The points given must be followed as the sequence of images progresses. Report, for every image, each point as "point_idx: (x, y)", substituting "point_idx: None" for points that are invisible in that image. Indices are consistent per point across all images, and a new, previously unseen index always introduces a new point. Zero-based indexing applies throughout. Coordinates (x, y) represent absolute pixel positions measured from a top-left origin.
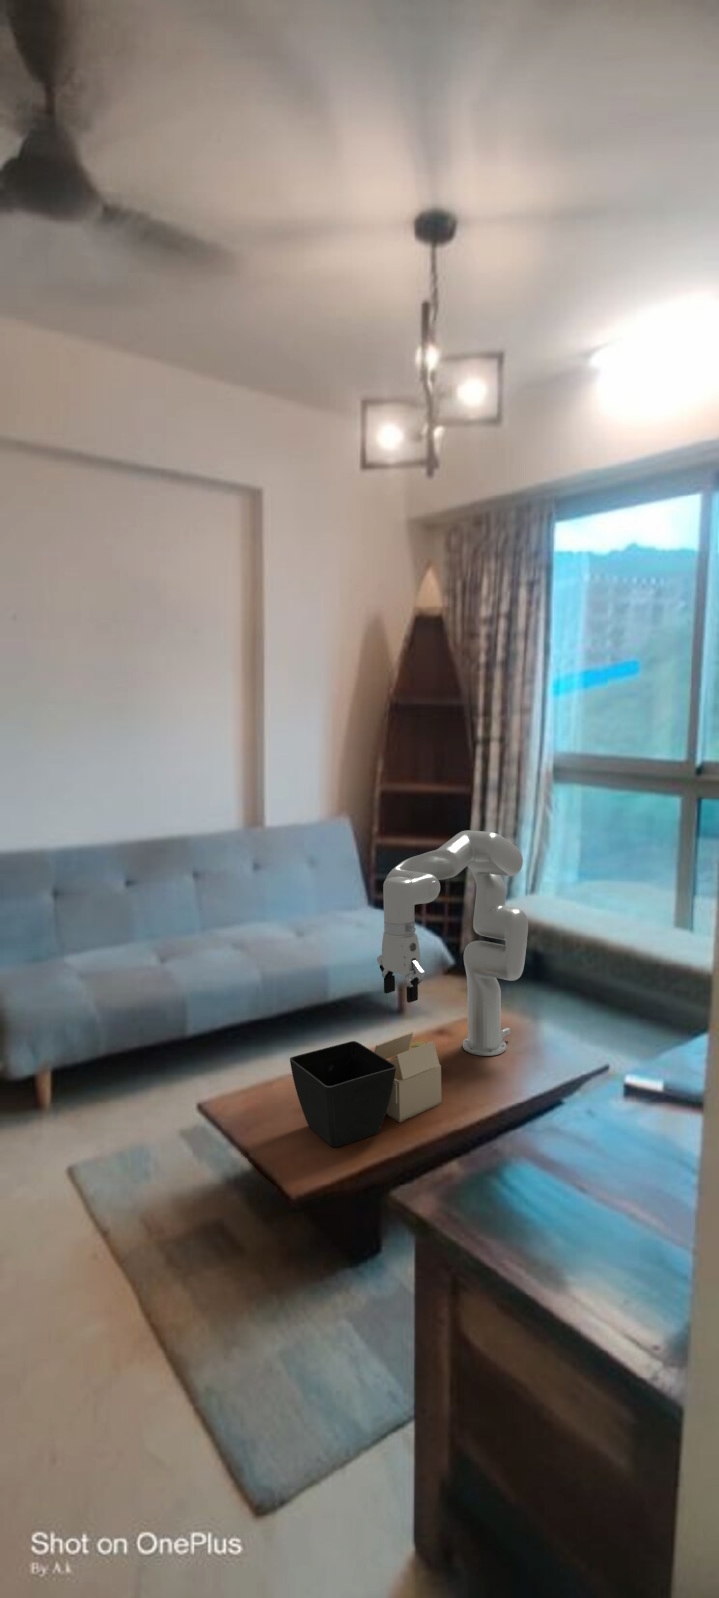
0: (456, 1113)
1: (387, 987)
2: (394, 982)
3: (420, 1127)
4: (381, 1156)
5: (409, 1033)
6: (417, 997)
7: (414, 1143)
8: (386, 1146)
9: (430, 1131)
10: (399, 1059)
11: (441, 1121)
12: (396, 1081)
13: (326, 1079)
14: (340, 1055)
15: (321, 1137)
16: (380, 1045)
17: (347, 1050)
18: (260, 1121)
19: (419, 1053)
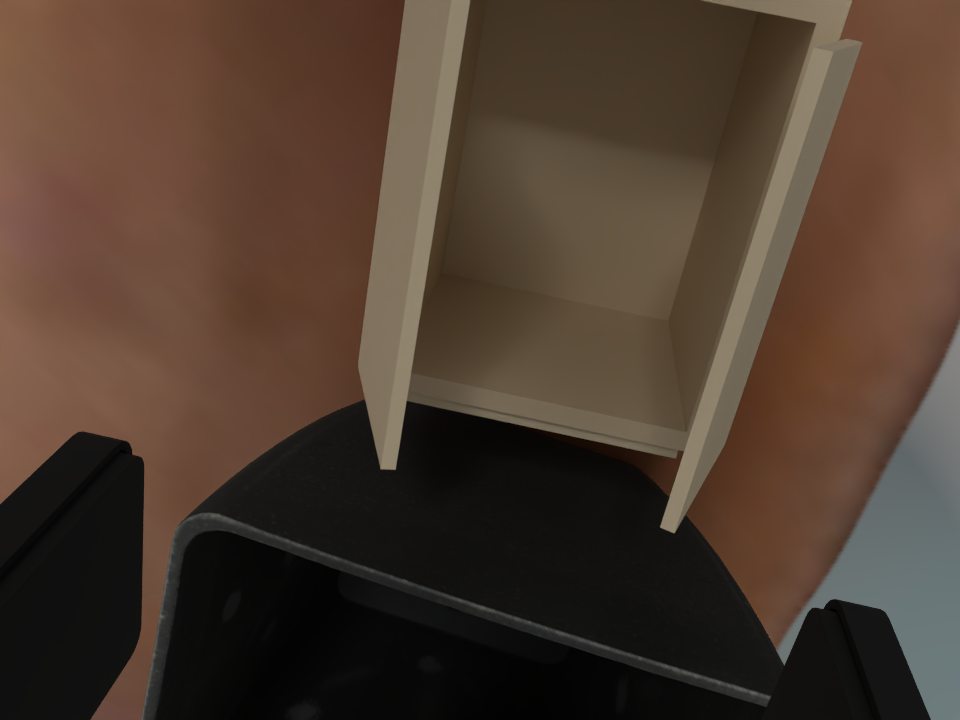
0: (941, 34)
1: (81, 704)
2: (35, 579)
3: (810, 310)
4: (775, 607)
5: (456, 37)
6: (892, 648)
7: (861, 452)
8: (749, 539)
9: (884, 313)
10: (690, 502)
11: (893, 183)
12: (672, 448)
13: (257, 601)
14: (209, 580)
15: (458, 639)
16: (401, 427)
17: (208, 543)
18: (149, 654)
19: (765, 276)
